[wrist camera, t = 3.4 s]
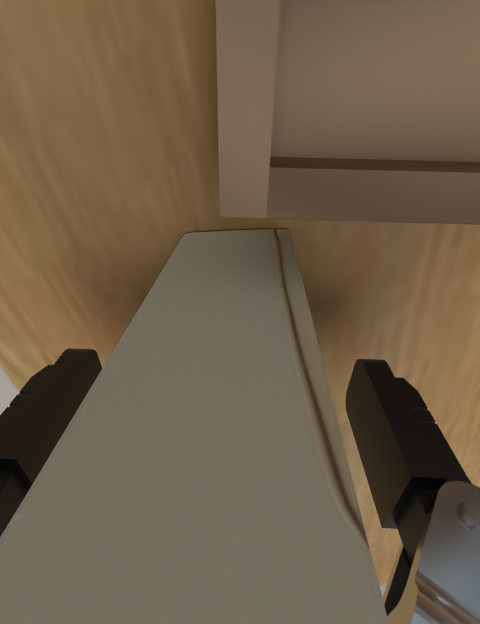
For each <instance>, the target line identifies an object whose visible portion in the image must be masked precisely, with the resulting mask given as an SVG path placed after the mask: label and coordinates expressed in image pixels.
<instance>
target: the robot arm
mask: <svg viewBox="0 0 480 624" xmlns="http://www.w3.org/2000/svg"><path fill="white" fill-rule="evenodd" d="M101 370H102V367H101V364H100V361H99V357H98V354H97V352H96V351H95V350H93V349H67V350H65V351H64V352H63V353H62V355H61V356H60V357H59V359H58V360H57V361H56V363H55V364H54V365H48V366H46V367H45V368H43V369H42V370H41V371H39V372H38V373H37V374H35V375H34V376H32V377H31V378H30V380H29V381H28V382H27V383H26V385H25V386H24V387H23V388H22V389H21V391H20V394H19V395H17V396H16V397H15V398H14V399H13V401H12V402H11V403H10V407H7V408H6V409H5V411H4V412H3V413H2V414H1V415H0V537H1V535H2V534H3V532H4V530H5V529H6V527H7V525H8V524H9V522H10V521H11V519H12V517H13V516H14V514H15V512H16V511H17V509H18V508H19V506H20V504H21V503H22V501H23V499H24V498H25V496H26V494H27V493H28V491H29V489H30V488H31V486H32V484H33V483H34V481H35V479H36V478H37V476H38V475H39V473H40V471H41V470H42V468H43V466H44V465H45V463H46V461H47V460H48V458H49V456H50V455H51V453H52V451H53V450H54V448H55V446H56V445H57V443H58V441H59V440H60V438H61V436H62V435H63V433H64V431H65V430H66V428H67V426H68V425H69V423H70V421H71V420H72V418H73V416H74V415H75V413H76V411H77V410H78V408H79V406H80V405H81V403H82V401H83V400H84V398H85V397H86V395H87V393H88V392H89V390H90V388H91V387H92V385H93V383H94V382H95V380H96V378H97V377H98V375H99V373H100V372H101ZM346 411H347V415H348V418H349V421H350V425H351V428H352V431H353V434H354V438H355V441H356V444H357V448H358V451H359V454H360V457H361V461H362V464H363V467H364V470H365V474H366V477H367V480H368V483H369V487H370V490H371V493H372V497H373V500H374V503H375V506H376V510H377V513H378V516H379V519H380V523H381V526H382V528H394V529H398V531H399V534H400V537H401V540H402V543H401V545H400V547H399V550H398V553H397V556H396V560H395V563H394V566H393V569H392V572H391V575H390V578H389V581H388V584H387V587H386V590H385V593H384V596H383V603H384V607H385V611H386V615H387V619H388V623H389V624H480V488H479V487H477V486H475V485H473V484H472V483H471V482H470V480H469V479H468V477H467V476H466V474H465V472H464V470H463V469H462V467H461V465H460V464H459V462H458V460H457V458H456V457H455V455H454V453H453V451H452V450H451V448H450V446H449V444H448V443H447V441H446V439H445V437H444V436H443V434H442V432H441V431H440V429H439V427H438V425H437V424H435V420H434V418H433V417H432V415H431V413H430V411H428V410H427V406H426V404H425V403H424V401H423V399H422V398H421V396H420V394H419V392H418V391H417V390H416V389H415V388H414V387H413V386H411V385H410V384H409V383H408V382H407V381H406V380H405V379H404V378H395V377H394V375H393V373H392V371H391V369H390V367H389V365H388V364H387V362H386V361H385V360H374V359H358V360H357V361H356V363H355V366H354V369H353V372H352V376H351V379H350V383H349V386H348V390H347V393H346Z"/></svg>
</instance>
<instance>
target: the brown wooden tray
mask: <svg viewBox="0 0 480 624" xmlns="http://www.w3.org/2000/svg"><path fill="white" fill-rule="evenodd" d="M216 48H217V105H218V162H219V217H233V218H268V219H304V220H339V221H374V222H410V223H445V224H480V0H216Z"/></svg>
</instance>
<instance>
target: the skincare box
mask: <svg viewBox="0 0 480 624" xmlns="http://www.w3.org/2000/svg"><path fill="white" fill-rule="evenodd" d="M0 624H389V623H388V619H387V615H386V611H385V607H384V603H383V599H382V595H381V590H380V586H379V582H378V578H377V575H376V571H375V568H374V564H373V560H372V557H371V553H370V549H369V545H368V541H367V537H366V533H365V529H364V525H363V521H362V517H361V513H360V509H359V505H358V501H357V497H356V493H355V489H354V484H353V480H352V476H351V472H350V468H349V464H348V460H347V456H346V452H345V448H344V444H343V440H342V436H341V433H340V429H339V425H338V421H337V417H336V412H335V408H334V404H333V400H332V396H331V392H330V388H329V384H328V381H327V377H326V373H325V369H324V365H323V361H322V356H321V352H320V349H319V345H318V341H317V337H316V333H315V328H314V324H313V320H312V316H311V312H310V308H309V304H308V300H307V296H306V293H305V289H304V285H303V281H302V277H301V273H300V269H299V265H298V261H297V258H296V254H295V250H294V246H293V242H292V239H291V235H290V231H289V230H288V229H260V230H234V231H213V232H194V233H186V234H184V235H183V237H182V239H181V240H180V242H179V243H178V245H177V247H176V248H175V250H174V252H173V253H172V255H171V256H170V258H169V260H168V261H167V263H166V265H165V266H164V268H163V270H162V271H161V273H160V275H159V276H158V278H157V280H156V281H155V283H154V285H153V286H152V288H151V290H150V291H149V293H148V295H147V296H146V298H145V300H144V301H143V303H142V304H141V306H140V308H139V309H138V311H137V313H136V314H135V316H134V317H133V319H132V321H131V322H130V324H129V325H128V327H127V329H126V330H125V332H124V334H123V335H122V337H121V339H120V340H119V342H118V344H117V345H116V347H115V349H114V350H113V352H112V354H111V355H110V357H109V359H108V360H107V362H106V364H105V365H104V367H103V368H102V370H101V372H100V373H99V375H98V377H97V378H96V380H95V382H94V383H93V385H92V387H91V388H90V390H89V392H88V393H87V395H86V397H85V398H84V400H83V401H82V403H81V405H80V406H79V408H78V410H77V411H76V413H75V415H74V416H73V418H72V420H71V421H70V423H69V425H68V426H67V428H66V430H65V431H64V433H63V435H62V436H61V438H60V440H59V441H58V443H57V445H56V446H55V448H54V450H53V451H52V453H51V455H50V456H49V458H48V460H47V461H46V463H45V465H44V466H43V468H42V470H41V471H40V473H39V475H38V476H37V478H36V479H35V481H34V483H33V484H32V486H31V488H30V489H29V491H28V493H27V494H26V496H25V498H24V499H23V501H22V503H21V504H20V506H19V508H18V509H17V511H16V512H15V514H14V516H13V517H12V519H11V521H10V522H9V524H8V525H7V527H6V529H5V530H4V532H3V534H2V535H1V537H0Z"/></svg>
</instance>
